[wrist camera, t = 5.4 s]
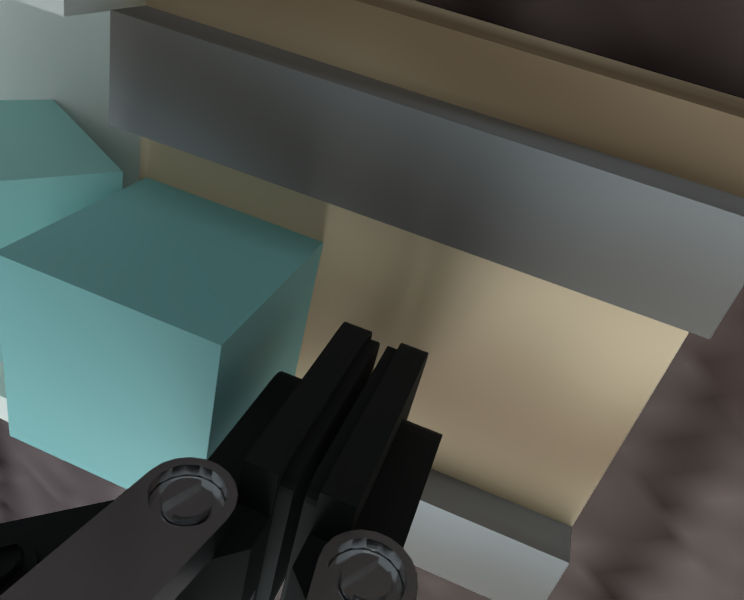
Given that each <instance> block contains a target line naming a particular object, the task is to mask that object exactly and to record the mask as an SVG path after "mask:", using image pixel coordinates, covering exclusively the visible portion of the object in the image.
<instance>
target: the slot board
mask: <svg viewBox="0 0 744 600" xmlns="http://www.w3.org/2000/svg"><path fill="white" fill-rule="evenodd" d="M109 125H111V126H114V127H117V128H120V129H122V130H125V131H128V132H131V133H134V134H136V135H139V136H141V143H140V169H139V181H140V180H142V179H144V178H146V177H148V178H150V179H153V180H156V181H159V182H161V183H164V184H167V185H169V186H172V187H175V188H177V189H180V190H183V191H186V192H188V193H191V194H194V195H196V196H199V197H202V198H205V199H207V200H210V201H213V202H215V203H218V204H221V205H224V206H226V207H229V208H232V209H234V210H237V211H240V212H243V213H245V214H248V215H251V216H253V217H256V218H259V219H262V220H264V221H267V222H270V223H272V224H275V225H278V226H281V227H283V228H286V229H289V230H291V231H294V232H297V233H299V234H302V235H305V236H308V237H310V238H313V239H316V240H318V241H321V242H323V247H322V251H321V256H320V261H319V265H318V270H317V275H316V279H315V284H314V289H313V293H312V298H311V303H310V307H309V312H308V317H307V321H306V326H305V331H304V335H303V340H302V345H301V350H300V354H299V359H298V364H297V368H296V373H295V376H296V377H298V378H301V379H302V378H303V377H304V376H305V374H306V373H307V371H308V370H309V369H310V367H311V366H312V365H313V363H314V362H315V360H316V359H317V358H318V356H319V355H320V354H321V352H322V351H323V349H324V348H325V347H326V345H327V344H328V343H329V341H330V340H331V338H332V337H333V336H334V334H335V333H336V332H337V330H338V329H339V327H340V326H341V325H342V324H343V322H348V323H351V324H353V325H356V326H359V327H361V328H364V329H367V330H369V331H372V338H371V340H374V341H377V342H379V343H380V346H379V351H378V354H377V358H376V361H375V365H374V368H373V370H374V369H375V367H376V365H377V363H378V362H379V360H380V358H381V356H382V355H383V353H384V351H385V349H386V348H387V346H390V347H393V348H395V349H398V347H399V345H400V344H401V343H404V344H407V345H409V346H412V347H415V348H417V349H420V350H423V351H425V352H428V353H429V355H428V358H427V361H426V364H425V367H424V370H423V373H422V376H421V379H420V382H419V385H418V388H417V391H416V394H415V398H414V401H413V404H412V407H411V410H410V413H409V416H408V419H407V421H410V422H412V423H415V424H417V425H420V426H422V427H425V428H428V429H430V430H433V431H435V432H438V433H440V434H443V436H442V439H441V442H440V444H439V447H438V450H437V453H436V456H435V459H434V462H433V465H432V467H431V470H430V473H429V476H428V479H427V482H426V485H425V488H424V490H423V493H422V496H421V499H420V502H419V505H418V508H417V510H416V513H415V516H414V519H413V522H412V525H411V528H410V531H409V533H408V536H407V539H406V542H405V545H404V548H403V549H404V550H405V551H406V552H407V554H408V555H409V556H410V558H411V559H412V561H413V564H414V565H415V566H417V567H419V568H421V569H424V570H426V571H428V572H431V573H433V574H435V575H437V576H440V577H442V578H444V579H446V580H449V581H451V582H453V583H456V584H458V585H460V586H462V587H465V588H467V589H469V590H471V591H474V592H476V593H478V594H481V595H483V596H485V597H487V598H490V599H492V600H547V598H548V596H549V595H550V593H551V592H552V590H553V588H554V587H555V585H556V584H557V582H558V580H559V579H560V577H561V576H562V574H563V572H564V571H565V569H566V568H567V566H568V564H569V561H570V547H571V533H572V526H573V524H574V523H575V521H576V519H577V518H578V516H579V514H580V513H581V511H582V509H583V508H584V506H585V504H586V503H587V501H588V499H589V498H590V496H591V494H592V493H593V491H594V489H595V488H596V486H597V484H598V483H599V481H600V479H601V478H602V476H603V474H604V473H605V471H606V469H607V468H608V466H609V464H610V463H611V461H612V459H613V458H614V456H615V454H616V453H617V451H618V449H619V448H620V446H621V444H622V443H623V441H624V439H625V438H626V436H627V434H628V433H629V431H630V429H631V428H632V426H633V425H634V423H635V421H636V420H637V418H638V416H639V415H640V413H641V411H642V410H643V408H644V406H645V405H646V403H647V401H648V400H649V398H650V396H651V395H652V393H653V391H654V390H655V388H656V386H657V385H658V383H659V381H660V380H661V378H662V376H663V375H664V373H665V371H666V370H667V368H668V366H669V365H670V363H671V361H672V360H673V358H674V356H675V355H676V353H677V351H678V350H679V348H680V346H681V345H682V343H683V341H684V340H685V338H686V336H687V335H688V333H689V332H690V333H693V334H696V335H699V336H702V337H704V338H707V339H710V338H711V336H712V335H713V333H714V332H715V330H716V328H717V327H718V325H719V324H720V322H721V320H722V319H723V317H724V316H725V314H726V312H727V311H728V309H729V308H730V306H731V304H732V303H733V301H734V300H735V298H736V297H737V295H738V293H739V292H740V290H741V289H742V287H743V285H744V99H743V98H739V97H736V96H733V95H729V94H726V93H723V92H719V91H716V90H713V89H709V88H706V87H702V86H699V85H696V84H692V83H689V82H686V81H682V80H679V79H676V78H672V77H669V76H666V75H662V74H659V73H656V72H652V71H649V70H646V69H642V68H639V67H636V66H632V65H629V64H626V63H622V62H619V61H616V60H612V59H609V58H606V57H602V56H599V55H596V54H592V53H589V52H585V51H582V50H579V49H575V48H572V47H569V46H565V45H562V44H559V43H555V42H552V41H549V40H545V39H542V38H539V37H535V36H532V35H529V34H525V33H522V32H519V31H515V30H512V29H509V28H505V27H502V26H499V25H495V24H492V23H489V22H485V21H482V20H479V19H475V18H472V17H468V16H465V15H462V14H458V13H455V12H452V11H448V10H445V9H442V8H438V7H435V6H432V5H428V4H425V3H422V2H418V1H415V0H146V5H145V6H137V7H129V8H121V9H113V10H110V72H109Z"/></svg>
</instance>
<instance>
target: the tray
mask: <svg viewBox="0 0 744 600" xmlns="http://www.w3.org/2000/svg"><path fill="white" fill-rule="evenodd" d="M145 5H146V0H0V100H54V101H55V102H56V103H57V104H58V105H59V106H60V107H61V108H62V109H63V110H64V111H65V112H66V113H67V114H68V115H69V116H70V117H71V118H72V119H73V120H74V121H75V122H76V123H77V125H78V126H79V127H80V128H81V129H82V130H83V131H84V132H85V133H86V134H87V135H88V136H89V137H90V138H91V139H92V140H93V141H94V142H95V143H96V144H97V145H98V146H99V147H100V148H101V149H102V150H103V152H104V153H105V154H106V155H107V156H108V157H109V158H110V159H111V160H112V161H113V162H114V163H115V164H116V165H117V166H118V167H119V168H120V169H121V170H122V171H123V186H122V189H123V188H126V187H128V186H130V185H132V184H134V183H136V182H138V181H139V169H140V143H141V136H139V135H136V134H134V133H131V132H128V131H125V130H122V129H120V128H117V127H114V126H111V125H109V72H110V10H113V9H121V8H129V7H137V6H145ZM0 418H1V419H3V420H5V421H7V422H9V420H8V409H7V399H6V388H5V377H4V367H3V361H1V362H0Z"/></svg>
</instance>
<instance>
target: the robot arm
mask: <svg viewBox="0 0 744 600" xmlns="http://www.w3.org/2000/svg"><path fill="white" fill-rule="evenodd" d="M371 338H372V331H369V330H367V329H364V328H361V327H359V326H356V325H353V324H351V323H348V322H343V324H342V325H341V326H340V327H339V329H338V330H337V332H336V333H335V334H334V336H333V337H332V338H331V340H330V341H329V343H328V344H327V345H326V347H325V348H324V349H323V351H322V352H321V354H320V355H319V356H318V358H317V359H316V360H315V362H314V363H313V365H312V366H311V367H310V369H309V370H308V371H307V373H306V374H305V376H304V377H303V378H302V379H301V378H298V377H296V376H293V375H291V374H288V373H286V372H283V371H280V372H278V373H277V374H276V375H275V376H274V377H273V378H272V380H271V381H270V382H269V383H268V385H267V386H266V387H265V388H264V390H263V391H262V392H261V393H260V395H259V396H258V397H257V398H256V400H255V401H254V402H253V403H252V405H251V406H250V407H249V408H248V410H247V411H246V412H245V413H244V415H243V416H242V417H241V418H240V420H239V421H238V422H237V423H236V425H235V426H234V427H233V428H232V430H231V431H230V432H229V433H228V435H227V436H226V437H225V438H224V440H223V441H222V442H221V443H220V445H219V446H218V447H217V448H216V450H215V451H214V452H213V453H212V455H211V456H210V457H209V458H208V460H207V459H201V458H195V457H185V458H175V459H172V460H169V461H166V462H163V463H161V464H159V465H158V466H156V467H154V468H153V469H151V470H150V471H148V472H147V473H146V474H145V475H144V476H142V477H141V478H140V479H139V480H138V481H137V482H135V483H134V484H133V485H132V486H131V487H129V488H128V489H127V490H126V491H125V492H123V493H122V494H121V495H120V496H119V497H117V498H116V499H115V500H111V501H106V502H102V503H97V504H92V505H87V506H82V507H78V508H73V509H68V510H63V511H58V512H54V513H49V514H44V515H39V516H34V517H30V518H25V519H20V520H15V521H10V522H6V523H1V524H0V600H274V598H275V596H276V594H277V593H278V591H279V589H280V587H281V585H282V583H283V581H284V579H285V581H284V586H283V590H282V594H281V598H280V600H416V599H417V591H418V580H417V572H416V569H415V566H414V564H413V561H412V559H411V558H410V556H409V555H408V554H407V552H406V551H405V550H404V549H403V548H404V545H405V542H406V539H407V536H408V533H409V531H410V528H411V525H412V522H413V519H414V516H415V513H416V510H417V508H418V505H419V502H420V499H421V496H422V493H423V490H424V488H425V485H426V482H427V479H428V476H429V473H430V470H431V467H432V465H433V462H434V459H435V456H436V453H437V450H438V447H439V444H440V442H441V439H442V436H443V434H440V433H438V432H435V431H433V430H430V429H428V428H425V427H422V426H420V425H417V424H415V423H412V422H410V421H407V419H408V416H409V413H410V410H411V407H412V404H413V401H414V398H415V394H416V391H417V388H418V385H419V382H420V379H421V376H422V373H423V370H424V367H425V364H426V361H427V358H428V355H429V353H428V352H425V351H423V350H420V349H417V348H415V347H412V346H409V345H407V344H404V343H401V344H400V345H399V347H398V349H395V348H393V347H390V346H387V348H386V349H385V351H384V353H383V355H382V356H381V358H380V360H379V362H378V363H377V365H376V367H375V369H374V370H373V368H374V365H375V361H376V358H377V354H378V351H379V346H380V343H379V342H377V341H374V340H371Z"/></svg>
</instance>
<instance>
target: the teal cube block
mask: <svg viewBox="0 0 744 600" xmlns="http://www.w3.org/2000/svg"><path fill="white" fill-rule="evenodd" d="M322 247H323V242H321V241H318V240H316V239H313V238H310V237H308V236H305V235H302V234H299V233H297V232H294V231H291V230H289V229H286V228H283V227H281V226H278V225H275V224H272V223H270V222H267V221H264V220H262V219H259V218H256V217H253V216H251V215H248V214H245V213H243V212H240V211H237V210H234V209H232V208H229V207H226V206H224V205H221V204H218V203H215V202H213V201H210V200H207V199H205V198H202V197H199V196H196V195H194V194H191V193H188V192H186V191H183V190H180V189H177V188H175V187H172V186H169V185H167V184H164V183H161V182H159V181H156V180H153V179H150V178H148V177H146V178H144V179H142V180H140V181H138V182H136V183H134V184H132V185H130V186H128V187H126V188H123V189H121V190H119V191H117V192H115V193H113V194H111V195H109V196H107V197H105V198H103V199H101V200H99V201H97V202H95V203H93V204H91V205H89V206H87V207H85V208H83V209H81V210H79V211H77V212H75V213H72V214H70V215H68V216H66V217H64V218H62V219H60V220H58V221H56V222H54V223H52V224H50V225H48V226H46V227H44V228H42V229H40V230H38V231H36V232H34V233H32V234H30V235H28V236H26V237H24V238H22V239H19V240H17V241H15V242H13V243H11V244H9V245H7V246H5V247H3V248H1V249H0V334H1V345H2V356H3V367H4V377H5V388H6V399H7V409H8V420H9V431H10V436H12V437H14V438H16V439H18V440H21V441H23V442H25V443H27V444H29V445H32V446H34V447H36V448H38V449H40V450H42V451H45V452H47V453H49V454H51V455H53V456H56V457H58V458H60V459H62V460H64V461H67V462H69V463H71V464H73V465H75V466H78V467H80V468H82V469H84V470H86V471H88V472H91V473H93V474H95V475H97V476H99V477H102V478H104V479H106V480H108V481H110V482H113V483H115V484H117V485H119V486H121V487H124V488H126V489H128V488H129V487H131V486H132V485H133V484H134V483H135V482H137V481H138V480H139V479H140V478H141V477H142V476H144V475H145V474H146V473H147V472H148V471H150V470H151V469H153V468H154V467H156V466H158V465H159V464H161V463H163V462H166V461H169V460H172V459H175V458H185V457H195V458H201V459H207V460H208V458H209V457H210V456H211V455H212V453H213V452H214V451H215V450H216V448H217V447H218V446H219V445H220V443H221V442H222V441H223V440H224V438H225V437H226V436H227V435H228V433H229V432H230V431H231V430H232V428H233V427H234V426H235V425H236V423H237V422H238V421H239V420H240V418H241V417H242V416H243V415H244V413H245V412H246V411H247V410H248V408H249V407H250V406H251V405H252V403H253V402H254V401H255V400H256V398H257V397H258V396H259V395H260V393H261V392H262V391H263V390H264V388H265V387H266V386H267V385H268V383H269V382H270V381H271V380H272V378H273V377H274V376H275V375H276V374H277V373H278V372H280V371H283V372H286V373H288V374H291V375H293V376H295V373H296V368H297V364H298V359H299V354H300V350H301V345H302V340H303V335H304V331H305V326H306V321H307V317H308V312H309V307H310V303H311V298H312V293H313V289H314V284H315V279H316V275H317V270H318V265H319V261H320V256H321V251H322Z"/></svg>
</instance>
